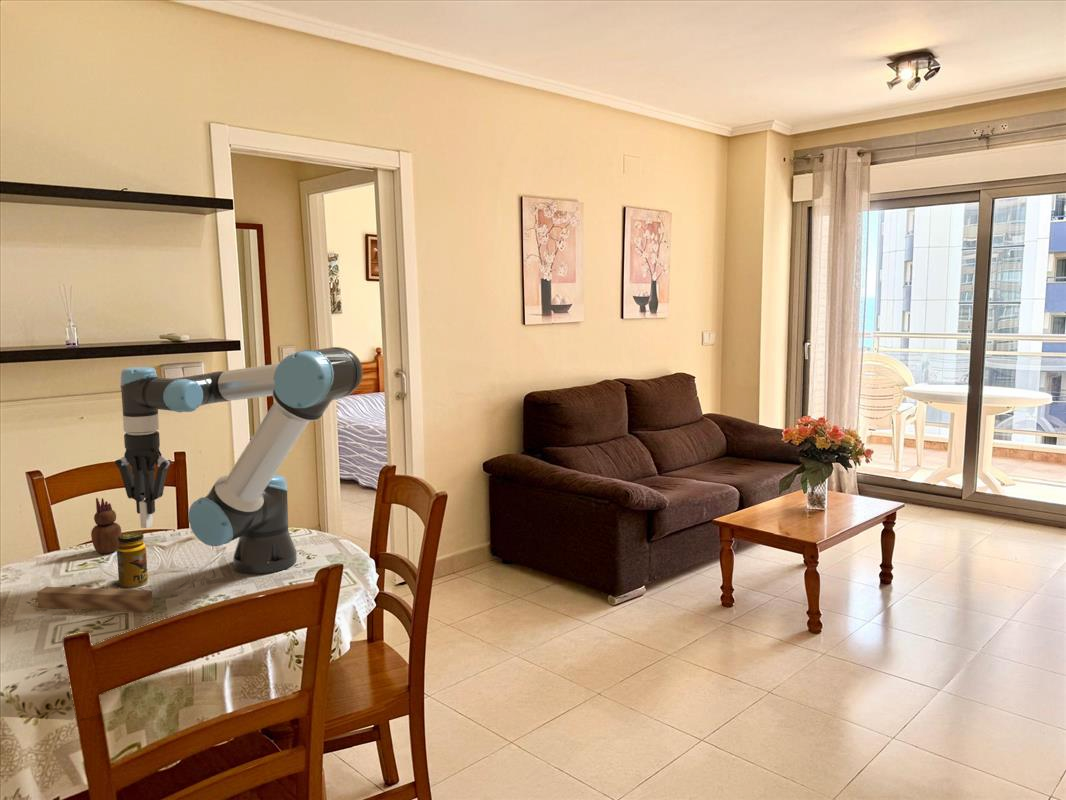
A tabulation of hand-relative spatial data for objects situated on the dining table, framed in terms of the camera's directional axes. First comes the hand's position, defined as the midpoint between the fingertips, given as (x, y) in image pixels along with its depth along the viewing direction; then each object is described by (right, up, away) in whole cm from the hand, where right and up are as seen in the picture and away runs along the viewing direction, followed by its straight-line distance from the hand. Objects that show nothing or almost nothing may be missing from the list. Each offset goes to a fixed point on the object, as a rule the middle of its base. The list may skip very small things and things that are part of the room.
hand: (146, 526), depth 183 cm
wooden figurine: (-17, -9, +13) cm, 24 cm away
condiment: (0, -13, -7) cm, 15 cm away
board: (-1, -14, -20) cm, 24 cm away
